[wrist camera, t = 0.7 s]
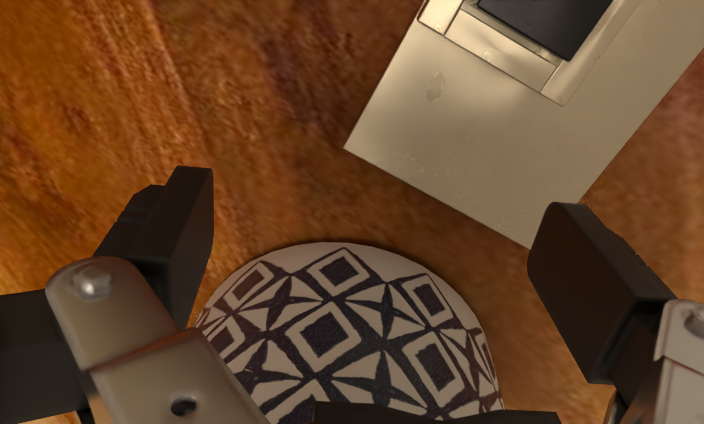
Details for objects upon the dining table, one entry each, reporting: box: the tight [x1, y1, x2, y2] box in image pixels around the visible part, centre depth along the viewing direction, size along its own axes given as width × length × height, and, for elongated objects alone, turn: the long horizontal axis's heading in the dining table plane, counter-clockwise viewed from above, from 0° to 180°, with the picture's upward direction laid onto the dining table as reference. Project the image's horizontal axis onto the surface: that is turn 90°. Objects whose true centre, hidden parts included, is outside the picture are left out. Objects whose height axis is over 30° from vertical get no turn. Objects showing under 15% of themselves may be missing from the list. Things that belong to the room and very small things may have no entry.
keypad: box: [343, 0, 704, 250], centre depth 22 cm, size 14×11×4 cm
